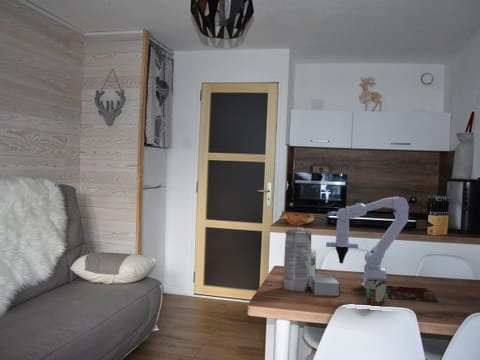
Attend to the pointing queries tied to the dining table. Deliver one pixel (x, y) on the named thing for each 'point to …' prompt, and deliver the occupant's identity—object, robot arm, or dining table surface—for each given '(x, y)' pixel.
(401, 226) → the robot arm
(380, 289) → the food container
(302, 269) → the juice carton
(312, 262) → the syrup box
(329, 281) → the block
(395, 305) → the dining table surface
